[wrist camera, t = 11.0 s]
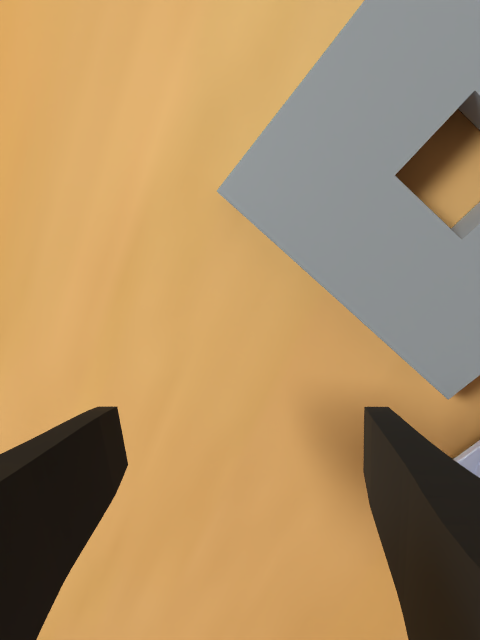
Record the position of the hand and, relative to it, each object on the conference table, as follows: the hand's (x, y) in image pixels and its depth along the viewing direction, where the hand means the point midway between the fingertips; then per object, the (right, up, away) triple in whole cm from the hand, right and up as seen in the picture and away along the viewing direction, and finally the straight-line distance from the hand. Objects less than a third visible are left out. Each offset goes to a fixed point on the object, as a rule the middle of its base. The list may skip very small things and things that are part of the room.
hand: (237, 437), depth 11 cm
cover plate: (+9, +10, +6) cm, 15 cm away
